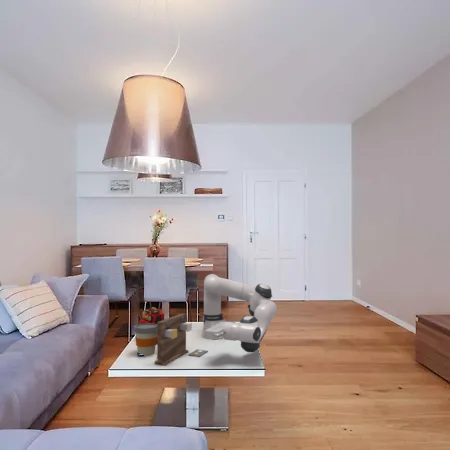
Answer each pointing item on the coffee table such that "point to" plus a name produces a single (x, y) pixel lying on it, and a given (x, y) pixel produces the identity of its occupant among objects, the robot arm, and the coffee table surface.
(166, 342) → the panel
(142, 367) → the coffee table surface
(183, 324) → the off-white rectangular block
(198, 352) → the card
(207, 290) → the robot arm
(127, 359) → the coffee table surface
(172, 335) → the yellow and grey block
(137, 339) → the reusable coffee cup
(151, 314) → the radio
